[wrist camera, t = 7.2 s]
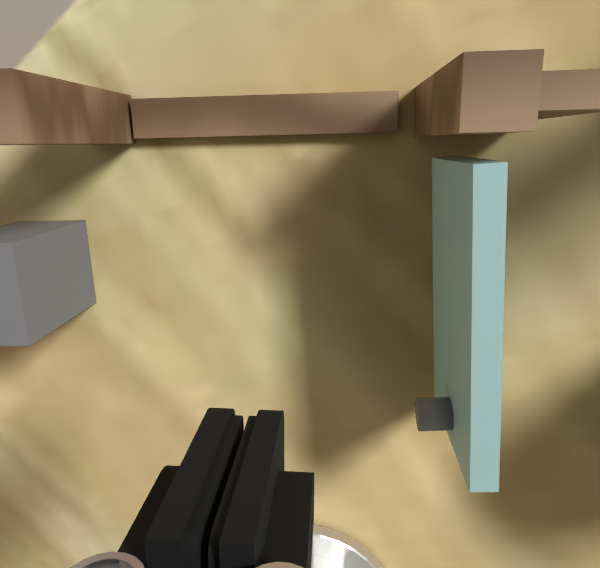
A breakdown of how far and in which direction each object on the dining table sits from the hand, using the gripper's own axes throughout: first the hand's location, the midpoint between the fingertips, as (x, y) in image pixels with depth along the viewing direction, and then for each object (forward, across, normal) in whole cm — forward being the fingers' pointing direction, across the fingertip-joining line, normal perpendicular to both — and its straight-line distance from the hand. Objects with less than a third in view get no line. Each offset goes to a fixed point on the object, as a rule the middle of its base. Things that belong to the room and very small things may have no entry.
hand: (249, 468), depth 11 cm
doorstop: (+19, +15, 0) cm, 24 cm away
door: (+18, -7, +1) cm, 19 cm away
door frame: (+19, 0, -8) cm, 21 cm away
